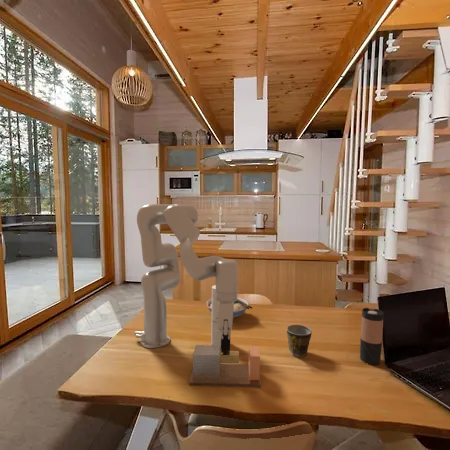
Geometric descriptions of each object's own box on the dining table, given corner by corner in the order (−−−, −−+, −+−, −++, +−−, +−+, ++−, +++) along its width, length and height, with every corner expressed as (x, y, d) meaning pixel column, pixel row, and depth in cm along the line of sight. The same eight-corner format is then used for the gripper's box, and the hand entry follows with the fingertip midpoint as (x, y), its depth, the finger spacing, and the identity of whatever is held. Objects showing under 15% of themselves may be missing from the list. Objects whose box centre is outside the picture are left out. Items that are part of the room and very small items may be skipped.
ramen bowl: (199, 311, 166) (199, 297, 166) (235, 305, 176) (235, 292, 175) (216, 329, 144) (217, 313, 143) (257, 321, 153) (258, 306, 153)
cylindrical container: (225, 348, 126) (226, 290, 124) (209, 346, 127) (210, 288, 125) (228, 340, 133) (229, 285, 131) (213, 338, 134) (214, 284, 132)
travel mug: (372, 367, 113) (375, 316, 111) (355, 357, 120) (357, 309, 118) (385, 362, 116) (388, 313, 115) (367, 353, 123) (370, 306, 121)
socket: (249, 379, 102) (250, 356, 102) (248, 368, 109) (249, 346, 109) (259, 380, 102) (260, 356, 102) (257, 368, 109) (258, 346, 109)
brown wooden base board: (189, 385, 100) (189, 358, 100) (193, 365, 112) (193, 341, 112) (260, 387, 100) (261, 360, 99) (257, 367, 112) (258, 343, 111)
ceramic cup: (290, 344, 130) (291, 322, 129) (313, 351, 125) (314, 327, 124) (279, 358, 118) (280, 334, 118) (305, 365, 113) (306, 340, 113)
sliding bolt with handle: (194, 362, 104) (194, 329, 103) (195, 358, 107) (195, 325, 106) (238, 363, 104) (239, 330, 103) (238, 359, 107) (239, 326, 106)
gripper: (216, 287, 112) (216, 334, 114) (214, 303, 95) (213, 357, 97) (236, 288, 112) (235, 334, 114) (237, 304, 95) (236, 358, 97)
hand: (225, 344), depth 105 cm, fingers open, 5 cm apart
